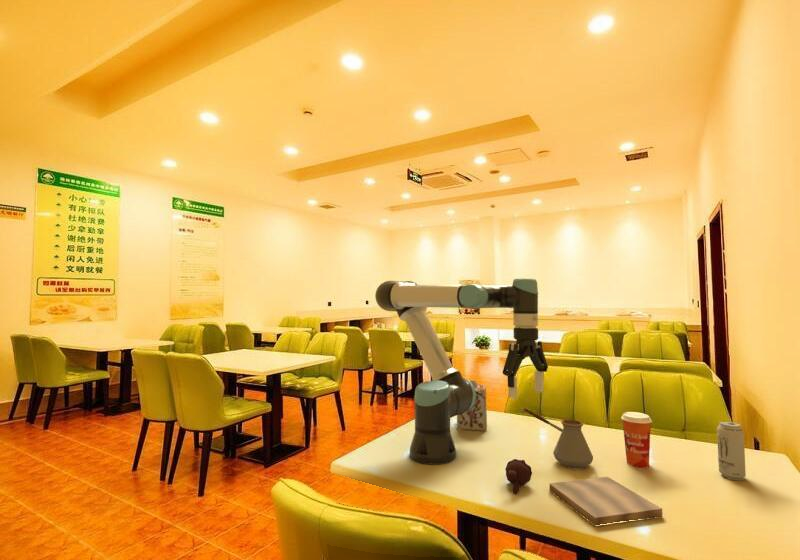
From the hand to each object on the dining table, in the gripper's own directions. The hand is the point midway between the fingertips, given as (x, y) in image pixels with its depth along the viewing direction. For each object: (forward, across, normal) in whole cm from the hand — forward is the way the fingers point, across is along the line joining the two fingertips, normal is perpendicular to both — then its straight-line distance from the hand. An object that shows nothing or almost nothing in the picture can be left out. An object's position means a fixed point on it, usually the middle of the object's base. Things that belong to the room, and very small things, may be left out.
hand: (526, 394), depth 130 cm
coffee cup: (+21, +27, -21) cm, 40 cm away
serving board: (+21, -7, -27) cm, 35 cm away
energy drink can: (+21, +38, -42) cm, 60 cm away
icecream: (+21, -14, -7) cm, 27 cm away
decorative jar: (+22, +15, +37) cm, 45 cm away
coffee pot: (+21, +9, -4) cm, 24 cm away
